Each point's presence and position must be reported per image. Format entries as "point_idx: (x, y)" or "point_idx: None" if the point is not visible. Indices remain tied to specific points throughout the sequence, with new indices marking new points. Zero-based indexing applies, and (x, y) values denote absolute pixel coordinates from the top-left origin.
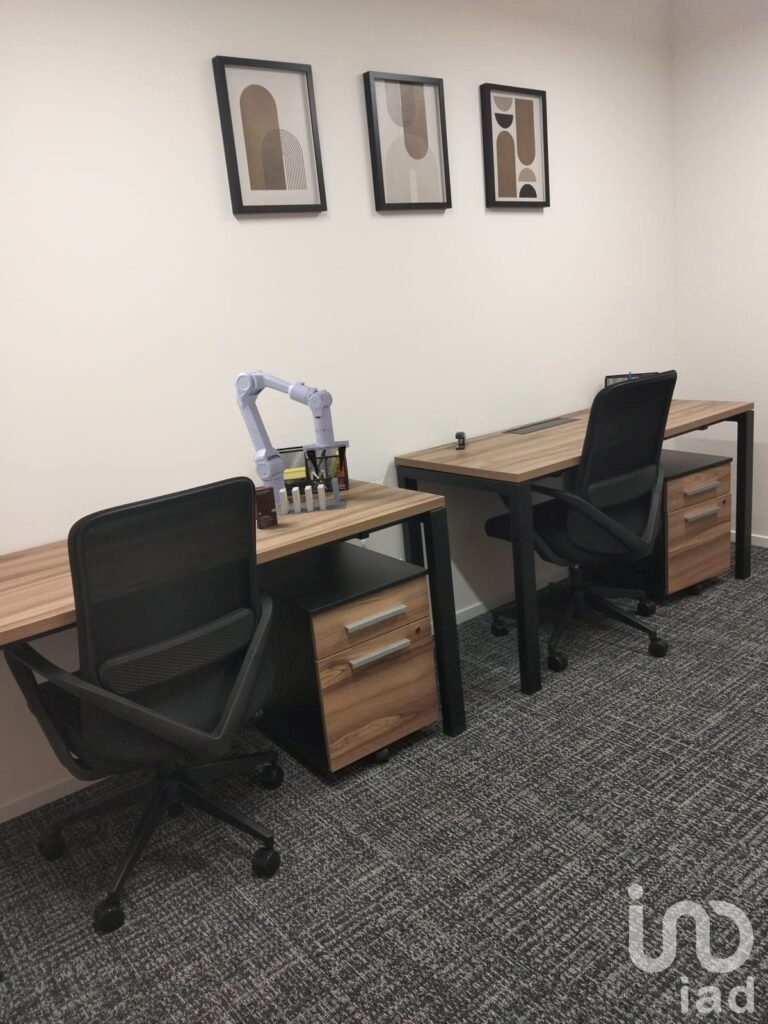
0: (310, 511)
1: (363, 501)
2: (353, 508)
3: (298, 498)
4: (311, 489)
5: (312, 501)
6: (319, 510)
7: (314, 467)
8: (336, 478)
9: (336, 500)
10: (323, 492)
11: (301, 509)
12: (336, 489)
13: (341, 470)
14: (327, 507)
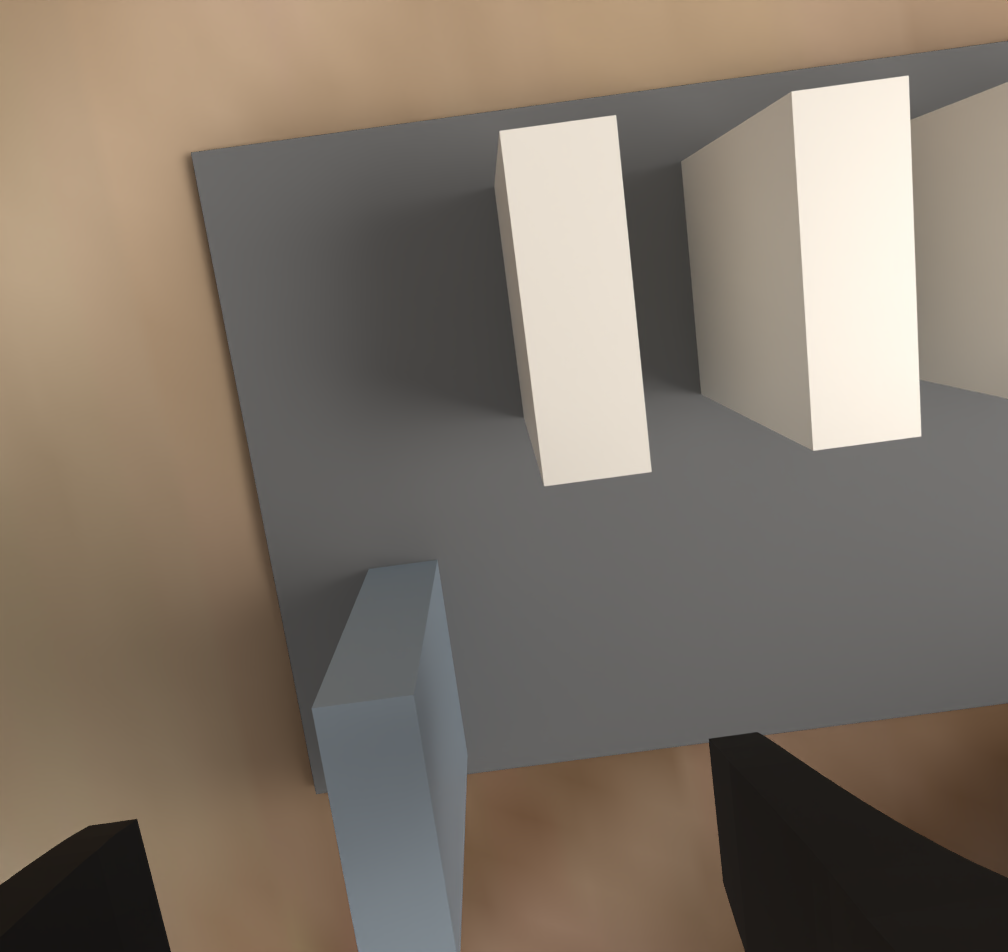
0: (711, 126)
1: (38, 564)
2: (86, 186)
3: (975, 144)
4: (785, 408)
5: (719, 283)
6: None
7: (856, 799)
8: (371, 929)
9: (404, 570)
10: (500, 171)
11: None
12: (364, 636)
13: (95, 827)
14: (487, 295)
